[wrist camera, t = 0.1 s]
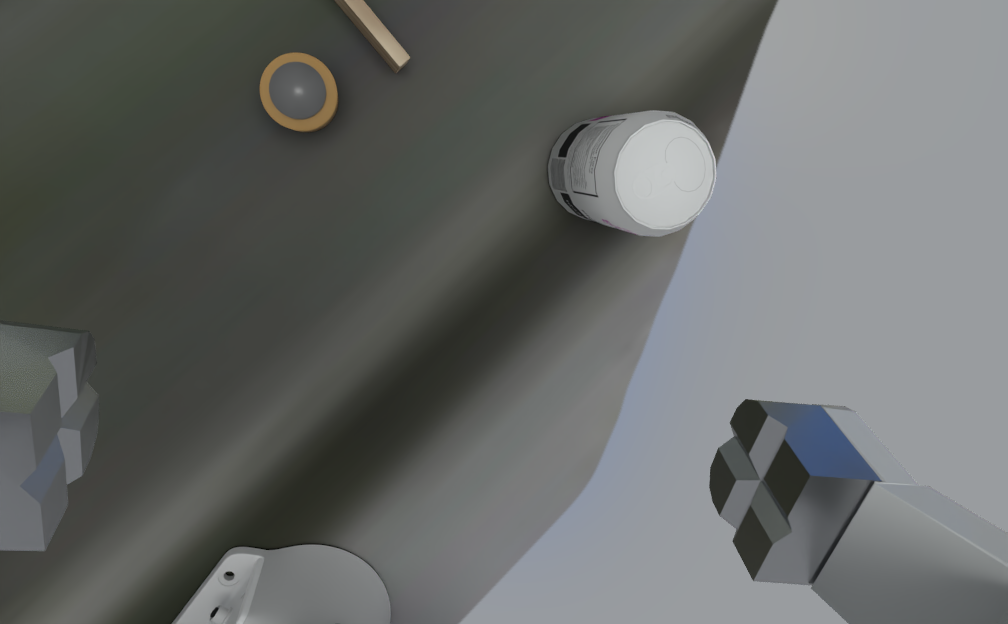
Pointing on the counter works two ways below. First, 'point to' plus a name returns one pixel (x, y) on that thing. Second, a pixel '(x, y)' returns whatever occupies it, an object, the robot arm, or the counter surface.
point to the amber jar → (299, 92)
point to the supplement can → (634, 171)
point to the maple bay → (375, 33)
